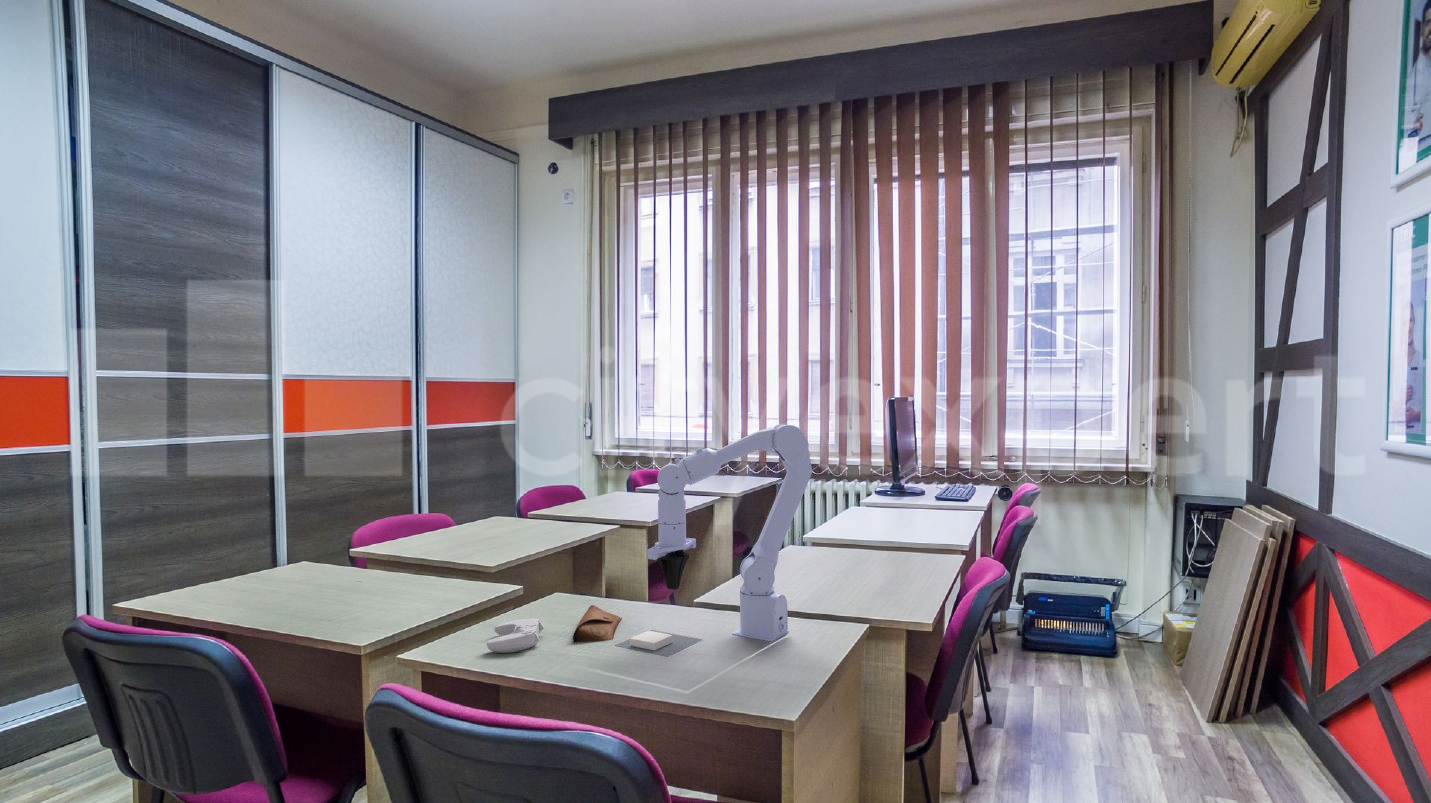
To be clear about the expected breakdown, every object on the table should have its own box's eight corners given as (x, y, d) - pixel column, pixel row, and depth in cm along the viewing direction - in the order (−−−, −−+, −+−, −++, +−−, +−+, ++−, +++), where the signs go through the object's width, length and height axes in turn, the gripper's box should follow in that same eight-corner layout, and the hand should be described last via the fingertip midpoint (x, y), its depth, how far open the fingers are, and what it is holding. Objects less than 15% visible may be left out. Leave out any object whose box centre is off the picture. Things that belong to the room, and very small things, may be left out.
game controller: (494, 620, 162) (541, 607, 163) (499, 640, 162) (546, 627, 163) (482, 640, 147) (534, 627, 149) (488, 663, 147) (539, 649, 149)
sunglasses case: (615, 642, 154) (597, 614, 154) (585, 661, 154) (567, 633, 154) (624, 617, 172) (608, 592, 172) (597, 634, 172) (581, 609, 172)
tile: (672, 634, 153) (654, 643, 148) (672, 642, 153) (654, 651, 148) (648, 630, 156) (630, 638, 151) (648, 637, 156) (630, 646, 151)
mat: (703, 641, 155) (702, 639, 155) (667, 658, 145) (667, 656, 145) (651, 631, 162) (651, 629, 162) (614, 647, 152) (614, 645, 152)
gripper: (676, 516, 167) (677, 578, 167) (634, 526, 154) (635, 593, 154) (703, 518, 163) (704, 582, 163) (663, 528, 151) (664, 597, 150)
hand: (673, 588), depth 158 cm, fingers closed
